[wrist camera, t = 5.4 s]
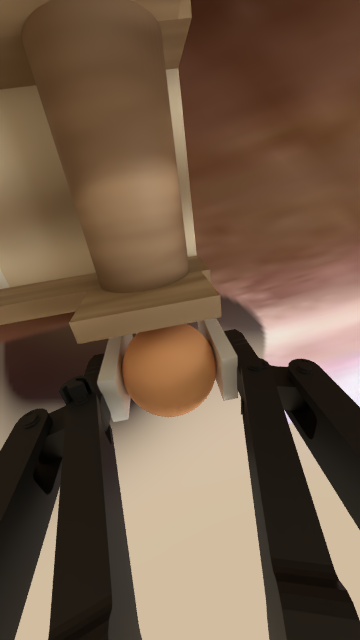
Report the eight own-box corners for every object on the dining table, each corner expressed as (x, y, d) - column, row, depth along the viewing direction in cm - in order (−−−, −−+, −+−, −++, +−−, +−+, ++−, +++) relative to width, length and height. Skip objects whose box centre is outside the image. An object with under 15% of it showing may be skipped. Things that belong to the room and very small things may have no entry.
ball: (116, 313, 13) (101, 371, 9) (201, 298, 13) (226, 348, 9) (136, 377, 16) (131, 447, 11) (207, 364, 16) (229, 427, 12)
